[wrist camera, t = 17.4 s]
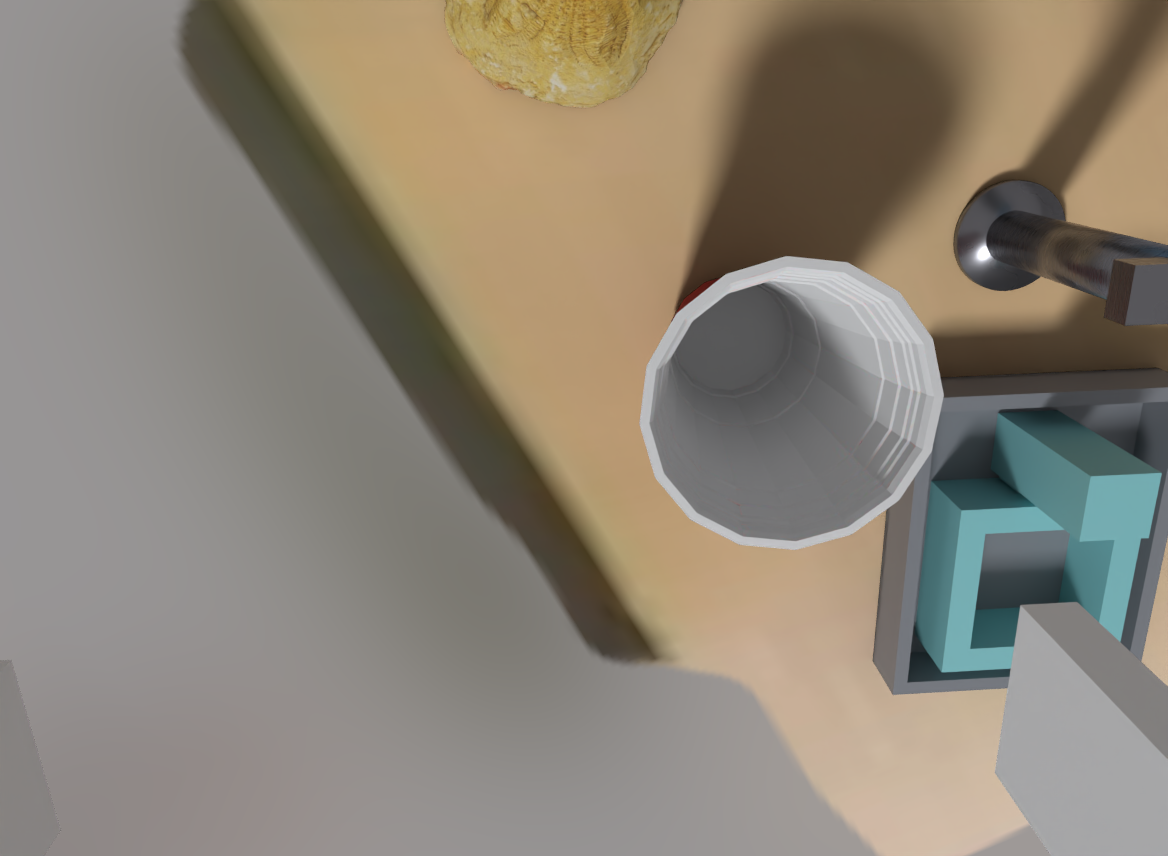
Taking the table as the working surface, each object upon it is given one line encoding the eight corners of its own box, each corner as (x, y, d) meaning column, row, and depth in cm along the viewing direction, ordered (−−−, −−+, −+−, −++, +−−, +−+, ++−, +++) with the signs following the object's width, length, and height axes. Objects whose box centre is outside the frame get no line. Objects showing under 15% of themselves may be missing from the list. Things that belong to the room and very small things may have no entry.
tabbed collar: (938, 415, 45) (1019, 479, 37) (1116, 407, 45) (1232, 469, 38) (914, 634, 49) (983, 730, 42) (1077, 624, 49) (1174, 719, 42)
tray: (898, 379, 44) (923, 398, 42) (1157, 367, 45) (1199, 385, 42) (872, 661, 50) (892, 694, 47) (1103, 648, 50) (1137, 680, 48)
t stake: (959, 181, 41) (1140, 218, 29) (1067, 178, 42) (1292, 212, 29) (948, 290, 43) (1114, 369, 31) (1051, 286, 43) (1258, 362, 31)
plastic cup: (786, 171, 41) (881, 199, 30) (873, 374, 44) (988, 468, 33) (573, 285, 42) (586, 354, 31) (674, 474, 46) (719, 597, 34)
